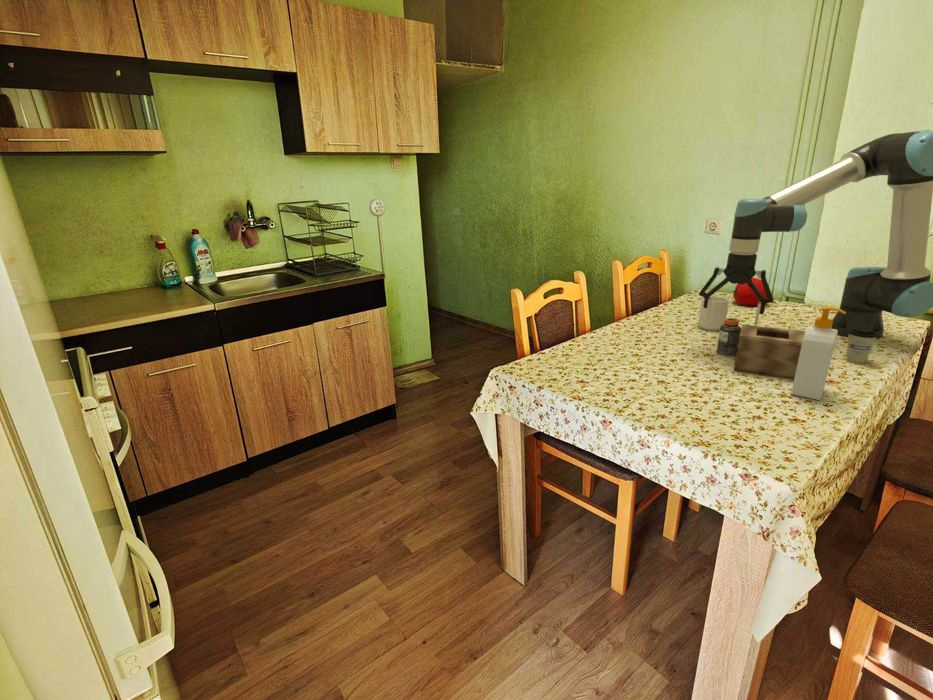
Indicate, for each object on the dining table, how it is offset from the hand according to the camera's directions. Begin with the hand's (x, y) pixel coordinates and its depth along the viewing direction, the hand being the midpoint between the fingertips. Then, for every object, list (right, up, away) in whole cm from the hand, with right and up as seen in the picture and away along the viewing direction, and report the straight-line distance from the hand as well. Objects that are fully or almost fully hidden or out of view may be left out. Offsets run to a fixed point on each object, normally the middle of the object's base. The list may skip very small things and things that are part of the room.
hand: (730, 321), depth 152 cm
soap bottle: (+7, -20, -25) cm, 33 cm away
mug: (+9, -1, +30) cm, 31 cm away
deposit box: (+5, -14, -9) cm, 18 cm away
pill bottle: (+1, -10, +4) cm, 11 cm away
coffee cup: (+34, -13, -6) cm, 37 cm away
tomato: (+39, +11, +57) cm, 70 cm away
